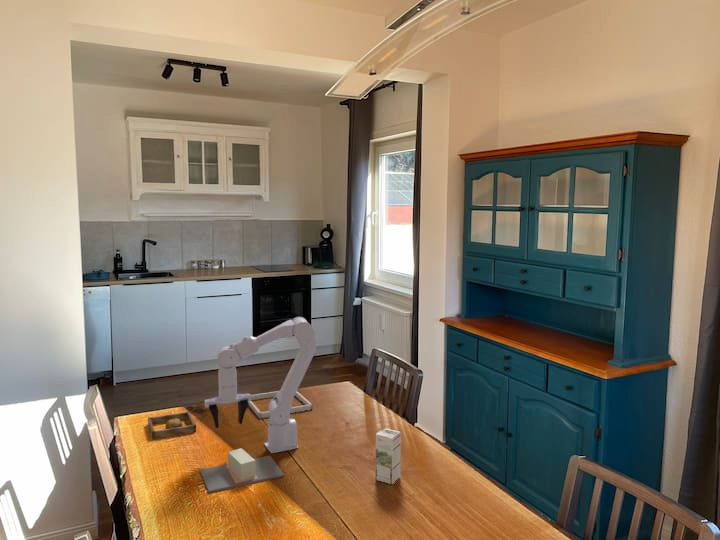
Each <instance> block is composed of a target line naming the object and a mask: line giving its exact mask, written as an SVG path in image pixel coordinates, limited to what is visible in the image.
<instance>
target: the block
mask: <svg viewBox="0 0 720 540" xmlns="http://www.w3.org/2000/svg"><path fill="white" fill-rule="evenodd" d="M254 459H255V458H253V457H252V456H251V455H250V453H248V452H247V451H246V450H245V449H243V448H241V447H239V448H236V449H233V450H229V451H227V464H228V468H229V469H230V470H231V471H232V472H233V473H234V474H235V475H236V476H237V477H238V478H239V479H240V480H241V481H242V480H246V479H249V478H252V477H255V476H256V473H255V460H254Z"/></svg>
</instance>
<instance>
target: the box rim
mask: <svg viewBox="0 0 720 540" xmlns="http://www.w3.org/2000/svg"><path fill="white" fill-rule="evenodd" d="M279 391H280V390H277V391H275V390H274V391H270V392H263V393H256V394H250V395H251V401H248V403H249V404H248V407H250V409H251V410H252V411H253V412H254V413H255V415H256V416H257V417H258V419H265V418H270V413H269V411H268V410H267V411H260V409H259V408H258V407H257V406H256V405H255V403H254V402H253V401H256V400H257V401H258V400H261V399H262V400H264V399H271V398H274V397H275V395H276V393H277V392H279ZM294 397H296V398H297V399H298V400H299V401H300V402H301V401H302V402H303V403H302V402H301V403H302V404H304V405H299V406H298V405H297V406H292V407H291V410H290V414H294V413H295V412H296V413H301V412H306V411H305V410H307V411H312V410H311V409H313V407H314V406H313V404H312V403H311V402H310V401H309V400H308V399H307V398H305V396H303V395H302V393H300V392H298V390H297V391H296V393H295V395H294ZM300 411H301V412H300Z"/></svg>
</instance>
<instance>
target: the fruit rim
mask: <svg viewBox="0 0 720 540" xmlns="http://www.w3.org/2000/svg"><path fill="white" fill-rule="evenodd" d="M175 418H178V419H180V420H181V421H183V420H187V421H188V424H189V425H183V427H177V428H171V429H166V428H165V429H160V430H155V428H154V426H153V425H158V424H164V423H165V424H166V423H167V422H168V421H169V420H171V419H175ZM147 425H148V428H149V431H150V434H151V439H152V440H157V439H156V438H158V439H163V438H168V436H169V437H173V436H174V435H175V436H180V435H185V434H192V433H197V425H196V423H195V420H194V418H193V417H192V414H191V413H190V411H184V412H178V413H171V414H170V413H169V414H164V415H159V416H158V415H157V416H152V417H147ZM162 437H163V438H162Z"/></svg>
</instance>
